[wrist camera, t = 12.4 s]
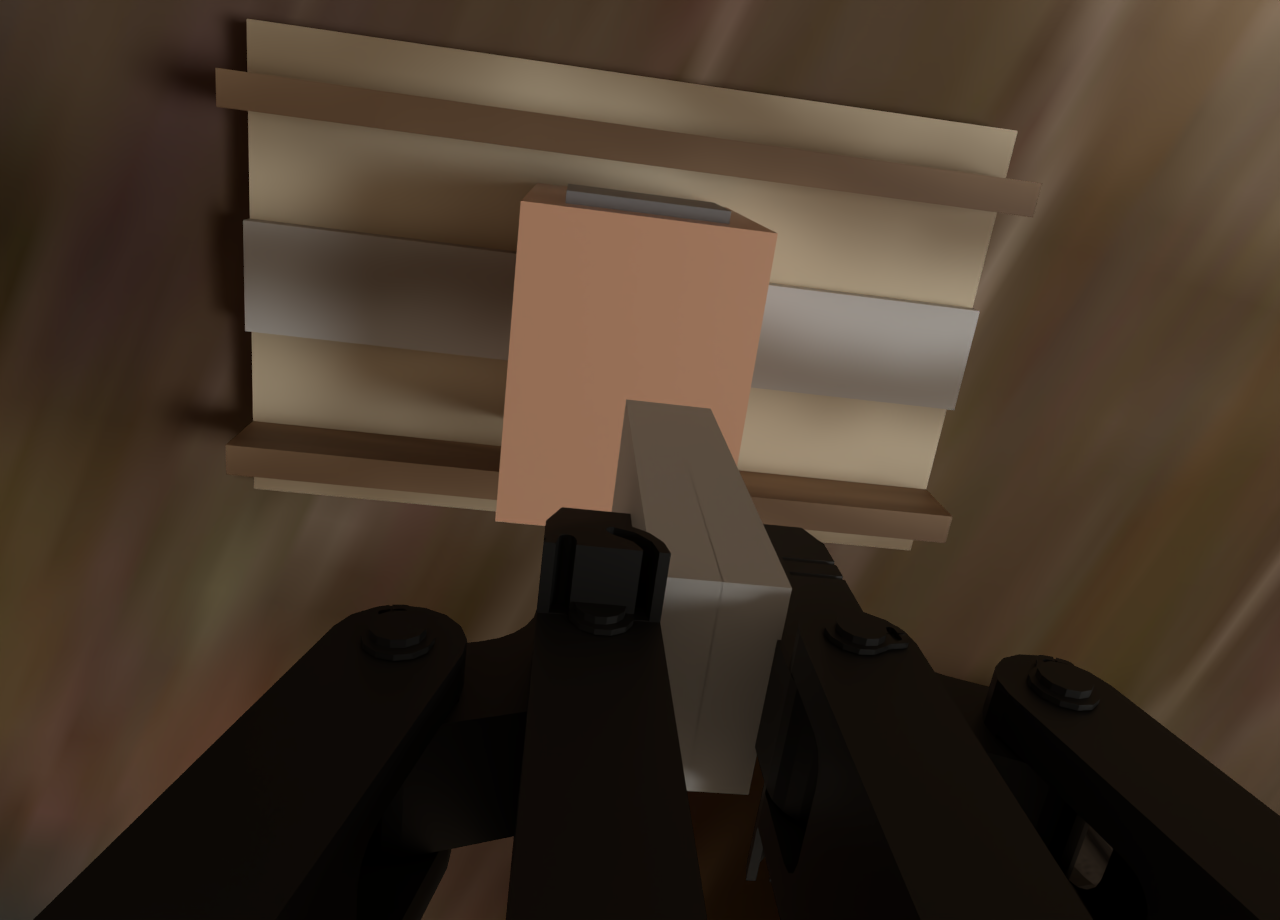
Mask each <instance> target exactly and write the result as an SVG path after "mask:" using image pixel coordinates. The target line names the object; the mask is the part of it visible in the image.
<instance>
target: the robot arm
mask: <svg viewBox="0 0 1280 920" xmlns="http://www.w3.org/2000/svg"><path fill="white" fill-rule="evenodd" d="M842 578H843V576H842V574H841V573H840V571H839V569H838V567H837V566H836V565H834V561H833V559H832V557H831V555H830V554H829V552H828V550H827V548H826V547H825V545H824V544H823V543H822V542H820V541H819V540H818V539H816V538H815V537H814V536H812V535H811V534H809V533H808V532H807V531H805V530H804V529H803V528H800V527H789V526H779V525H769V524H763V523H762V521H761V519H760V516H759V514H758V512H757V510H756V508H755V505H754V503H753V501H752V499H751V496H750V494H749V492H748V490H747V488H746V485H745V483H744V481H743V479H742V477H741V474H740V472H739V470H738V468H737V466H736V463H735V461H734V459H733V457H732V454H731V452H730V450H729V448H728V446H727V443H726V441H725V439H724V437H723V435H722V432H721V430H720V428H719V426H718V424H717V421H716V419H715V417H714V415H713V412H712V410H711V409H709V408H700V407H691V406H682V405H673V404H664V403H654V402H645V401H636V400H627V399H626V405H625V412H624V420H623V428H622V435H621V443H620V451H619V458H618V466H617V474H616V482H615V489H614V497H613V505H612V512H607V511H597V510H586V509H576V508H566V507H562V508H560V509H559V510H558V511H557V512H556V513H554V514H553V515H552V516H551V517H550V518H548V519H547V520H546V525H545V535H544V545H543V554H542V564H541V574H540V584H539V593H538V603H537V610H536V613H535V616H534V618H533V619H532V620H531V621H530V622H529V623H528V624H527V625H526V626H525V627H523V628H521V629H520V630H518V631H516V632H515V633H512V634H509V635H506V636H504V637H501V638H497V639H491V640H486V641H480V642H471V643H467V639H466V637H465V634H464V632H463V630H462V627H461V626H460V625H459V624H457V623H456V622H455V621H453V620H452V619H451V618H449V617H448V616H447V615H444V614H441V613H439V612H436V611H433V610H430V609H427V608H421V607H412V606H408V605H392V606H389V605H386V606H379V607H375V608H371V609H368V610H365V611H361V612H358V613H355V614H352V615H350V616H348V617H347V618H345V619H344V620H342V621H341V622H339V623H338V624H336V625H334V626H333V627H332V628H331V629H330V630H329V631H328V632H327V633H326V634H325V635H324V636H323V637H322V638H321V639H320V640H319V641H318V642H317V643H316V644H315V645H314V646H313V647H312V648H311V649H310V650H309V651H308V652H307V653H306V654H305V655H304V656H303V657H302V658H301V659H299V660H298V661H297V662H296V663H295V664H294V665H293V666H292V667H291V668H290V669H289V670H288V671H287V672H286V673H285V674H284V675H283V676H282V677H281V678H280V679H279V680H278V681H277V682H276V683H275V684H274V685H273V686H272V687H271V688H270V689H269V690H268V691H267V692H266V693H265V694H264V695H263V696H262V697H261V698H260V699H259V700H258V701H257V702H255V703H254V704H253V705H252V706H251V707H250V708H249V709H248V710H247V711H246V712H245V713H244V714H243V715H242V716H241V717H240V718H239V719H238V720H237V721H236V722H235V723H234V724H233V725H232V726H231V727H230V728H229V729H228V730H227V731H226V732H225V733H224V734H223V735H222V736H221V737H220V738H219V739H218V740H217V741H216V742H215V743H214V744H213V745H211V746H210V747H209V748H208V749H207V750H206V751H205V752H204V753H203V754H202V755H201V756H200V757H199V758H198V759H197V760H196V761H195V762H194V763H193V764H192V765H191V766H190V767H189V768H188V769H187V770H186V771H185V772H184V773H183V774H182V775H181V776H180V777H179V778H178V779H177V780H176V781H175V782H174V783H173V784H172V785H171V786H170V787H168V788H167V789H166V790H165V791H164V792H163V793H162V794H161V795H160V796H159V797H158V798H157V799H156V800H155V801H154V802H153V803H152V804H151V805H150V806H149V807H148V808H147V809H146V810H145V811H144V812H143V813H142V814H141V815H140V816H139V817H138V818H137V819H136V820H135V821H134V822H133V823H132V824H131V825H130V826H129V827H128V828H127V829H126V830H124V831H123V832H122V833H121V834H120V835H119V836H118V837H117V838H116V839H115V840H114V841H113V842H112V843H111V844H110V845H109V846H108V847H107V848H106V849H105V850H104V851H103V852H102V853H101V854H100V855H99V856H98V857H97V858H96V859H95V860H94V861H93V862H92V863H91V864H90V865H89V866H88V867H87V868H86V869H85V870H84V871H83V872H82V873H80V874H79V875H78V876H77V877H76V878H75V879H74V880H73V881H72V882H71V883H70V884H69V885H68V886H67V887H66V888H65V889H64V890H63V891H62V892H61V893H60V894H59V895H58V896H57V897H56V898H55V899H54V900H53V901H52V902H51V903H50V904H49V905H48V906H47V907H46V908H45V909H44V910H43V911H42V912H41V913H40V914H39V915H38V916H36V917H35V918H34V919H33V920H421V918H422V916H423V914H424V912H425V910H426V908H427V906H428V904H429V902H430V900H431V898H432V896H433V894H434V893H435V891H436V889H437V887H438V885H439V883H440V881H441V879H442V877H443V875H444V873H445V871H446V869H447V866H448V862H449V857H450V853H451V849H453V848H457V847H462V846H467V845H472V844H477V843H482V842H487V841H492V840H497V839H502V838H507V837H512V836H514V841H513V851H512V861H511V871H510V882H509V892H508V902H507V913H506V920H707V915H706V909H705V903H704V896H703V890H702V884H701V877H700V871H699V865H698V858H697V852H696V846H695V839H694V833H693V827H692V820H691V814H690V808H689V801H688V795H687V791H697V792H712V793H727V794H742V795H749V790H750V785H751V781H752V776H753V771H754V766H755V762H756V757H757V756H758V760H759V764H760V767H761V771H762V775H763V778H764V786H763V791H762V796H761V800H760V805H759V809H758V814H757V819H756V823H755V828H754V833H753V837H752V842H751V846H750V851H749V856H748V860H747V866H746V880H749V881H756V877H757V873H758V868H759V864H760V862H761V861H762V859H763V858H764V857H765V858H766V862H767V867H768V871H769V875H770V878H769V880H770V882H771V883H772V887H773V891H774V895H775V899H776V903H777V907H778V912H779V916H780V920H1280V816H1279V815H1278V814H1277V813H1275V812H1274V811H1273V810H1271V809H1270V808H1269V807H1267V806H1266V805H1265V804H1264V803H1262V802H1261V801H1260V800H1258V799H1257V798H1256V797H1255V796H1253V795H1252V794H1251V793H1249V792H1248V791H1247V790H1245V789H1244V788H1243V787H1242V786H1240V785H1239V784H1238V783H1236V782H1235V781H1234V780H1233V779H1231V778H1230V777H1229V776H1227V775H1226V774H1225V773H1223V772H1222V771H1221V770H1220V769H1218V768H1217V767H1216V766H1214V765H1213V764H1212V763H1210V762H1209V761H1208V760H1207V759H1205V758H1204V757H1203V756H1201V755H1200V754H1199V753H1198V752H1196V751H1195V750H1194V749H1192V748H1191V747H1190V746H1188V745H1187V744H1186V743H1185V742H1183V741H1182V740H1181V739H1179V738H1178V737H1177V736H1176V735H1174V734H1173V733H1172V732H1170V731H1169V730H1168V729H1166V728H1165V727H1164V726H1163V725H1161V724H1160V723H1159V722H1157V721H1156V720H1155V719H1153V718H1152V717H1151V716H1150V715H1148V714H1147V713H1146V712H1144V711H1143V710H1142V709H1141V708H1139V707H1138V706H1137V705H1135V704H1134V703H1133V702H1131V701H1130V700H1129V699H1128V698H1126V697H1125V696H1124V695H1122V694H1121V693H1120V692H1119V691H1117V690H1116V689H1115V688H1113V687H1112V686H1111V685H1109V684H1108V683H1106V682H1104V681H1103V680H1101V679H1100V678H1098V677H1096V676H1095V675H1093V674H1092V673H1090V672H1088V671H1085V670H1083V669H1081V668H1078V667H1076V666H1074V665H1073V664H1072V663H1071V662H1068V661H1066V660H1062V659H1059V658H1056V660H1055V659H1054V658H1053V657H1050V656H1045V655H1038V656H1036V655H1015V656H1011V657H1006V658H1003V659H1002V660H1001V661H1000V662H999V663H998V665H997V666H996V667H995V670H994V673H993V677H992V680H991V683H990V686H989V687H987V686H983V685H979V684H975V683H971V682H968V681H964V680H960V679H956V678H952V677H948V676H945V675H942V674H939V673H936V672H934V670H933V669H932V667H931V666H930V664H929V663H928V661H927V659H926V658H925V656H924V655H923V653H922V652H921V650H920V649H919V647H918V645H917V644H916V643H915V642H914V641H913V640H912V639H911V638H910V637H909V636H908V635H907V633H906V632H905V631H903V630H901V629H900V628H899V627H897V626H895V625H893V624H891V623H890V622H888V621H886V620H884V619H881V618H878V617H875V616H873V615H870V614H867V613H864V612H863V611H862V609H861V607H860V606H859V604H858V602H857V600H856V599H855V597H854V595H853V593H852V592H851V590H850V588H849V587H848V585H847V583H846V581H845V580H842ZM1089 825H1090V826H1091V827H1092V828H1093V829H1094V830H1095V831H1096V832H1097V833H1098V834H1099V835H1100V836H1101V837H1102V838H1103V839H1104V840H1105V841H1106V842H1107V843H1108V844H1109V845H1110V846H1111V847H1112V848H1113V851H1112V853H1111V856H1110V859H1109V861H1108V864H1107V866H1106V869H1105V871H1104V874H1103V876H1102V879H1101V880H1100V882H1099V883H1098V885H1095V884H1093V883H1091V882H1090V881H1089V880H1088V879H1086V878H1085V877H1084V876H1083V875H1082V874H1081V873H1080V872H1079V871H1078V870H1077V869H1076V868H1075V867H1074V865H1075V863H1076V860H1077V857H1078V855H1079V852H1080V849H1081V847H1082V844H1083V841H1084V839H1085V836H1086V833H1087V831H1088V828H1089Z"/></svg>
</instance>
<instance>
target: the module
mask: <svg viewBox="0 0 1280 920" xmlns="http://www.w3.org/2000/svg"><path fill="white" fill-rule="evenodd" d="M777 235H778V233H776V232H774V231H772V230H770V229H768V228H766V227H764V226H762V225H760V224H758V223H756V222H754V221H752V220H750V219H748V218H746V217H744V216H742V215H741V214H739V213H737V212H735V211H733V210H731V209H729V208H727V207H722V206H720V205H718V204H716V203H714V202H706V201H699V200H691V199H683V198H675V197H668V196H660V195H652V194H644V193H637V192H629V191H621V190H614V189H606V188H598V187H590V186H583V185H575V184H568V187H566V186H559V185H551V184H543V183H537V184H536V185H535V186H534V187H533V188H532V189H531V190H530V191H529V192H528V193H527V195H526V196H525V197H524V198H523V199H522V200H521V204H520V217H519V230H518V242H517V255H516V267H515V280H514V292H513V305H512V318H511V330H510V343H509V355H508V368H507V381H506V393H505V406H504V418H503V431H502V443H501V456H500V469H499V481H498V494H497V506H496V519H495V521H497V522H508V523H519V524H530V525H541V526H545V525H546V520H547V519H548V518H550V517H551V516H552V515H553V514H554V513H556V512H557V511H558V510H559V509H560V508H562V507H566V508H576V509H586V510H597V511H607V512H612V505H613V497H614V489H615V482H616V474H617V466H618V458H619V451H620V443H621V435H622V428H623V420H624V412H625V405H626V399H627V400H636V401H645V402H654V403H664V404H673V405H682V406H691V407H700V408H709V409H711V410H712V412H713V415H714V417H715V419H716V421H717V424H718V426H719V428H720V430H721V432H722V435H723V437H724V439H725V441H726V443H727V446H728V448H729V450H730V452H731V454H732V457H733V459H734V461H735V463H736V466H737V464H738V458H739V453H740V447H741V441H742V436H743V430H744V424H745V418H746V413H747V407H748V401H749V395H750V390H751V384H752V378H753V373H754V367H755V361H756V355H757V350H758V344H759V338H760V332H761V327H762V321H763V315H764V310H765V304H766V298H767V292H768V287H769V281H770V275H771V269H772V264H773V258H774V252H775V247H776V241H777Z"/></svg>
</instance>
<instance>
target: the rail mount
mask: <svg viewBox="0 0 1280 920" xmlns="http://www.w3.org/2000/svg"><path fill="white" fill-rule="evenodd" d="M215 72H216V107H223V108H230V109H238V110H245V111H248V140H249V201H250V219H246V220H243V246H244V300H245V331H249V332H252V387H253V421H252V422H251V423H250V424H249V425H248V426H247V427H246V428H244V429H243V430H242V431H241V432H240V433H239V434H238V435H236V436H235V437H234V438H233V439H232V440H231V441H230V442H228V443H227V444H226V474H228V475H238V476H249V477H254V489H264V490H275V491H285V492H296V493H306V494H317V495H328V496H338V497H349V498H359V499H370V500H381V501H391V502H402V503H412V504H423V505H434V506H444V507H455V508H465V509H476V510H487V511H496V506H497V494H498V481H499V469H500V456H501V443H502V431H503V418H504V406H505V393H506V381H507V368H508V355H509V343H510V330H511V318H512V305H513V292H514V280H515V267H516V255H517V242H518V230H519V217H520V204H521V200H522V199H523V198H524V197H525V196H526V195H527V193H528V192H529V191H530V190H531V189H532V188H533V187H534V186H535V185H536V184H537V183H543V184H551V185H559V186H566V187H568V184H575V185H583V186H590V187H598V188H606V189H614V190H621V191H629V192H637V193H644V194H652V195H660V196H668V197H675V198H683V199H691V200H699V201H706V202H714V203H716V204H718V205H720V206H722V207H727V208H729V209H731V210H733V211H735V212H737V213H739V214H741V215H742V216H744V217H746V218H748V219H750V220H752V221H754V222H756V223H758V224H760V225H762V226H764V227H766V228H768V229H770V230H772V231H774V232H776V233H778V235H777V241H776V247H775V252H774V258H773V264H772V269H771V275H770V281H769V287H768V292H767V298H766V304H765V310H764V315H763V321H762V327H761V332H760V338H759V344H758V350H757V355H756V361H755V367H754V373H753V378H752V384H751V390H750V395H749V401H748V407H747V413H746V418H745V424H744V430H743V436H742V441H741V447H740V453H739V458H738V464H737V468H738V470H739V472H740V474H741V477H742V479H743V481H744V483H745V485H746V488H747V490H748V492H749V494H750V496H751V499H752V501H753V503H754V505H755V508H756V510H757V512H758V514H759V516H760V519H761V521H762V523H763V524H769V525H779V526H789V527H800V528H803V529H804V530H805V531H807V532H808V533H809V534H811V535H812V536H814V537H815V538H816V539H818V540H819V541H820V542H826V543H837V544H847V545H858V546H868V547H879V548H890V549H900V550H911V547H912V543H913V540H919V541H929V542H939V543H946V539H947V535H948V532H949V528H950V524H951V520H952V516H951V515H950V514H949V513H948V512H947V510H946V509H945V508H944V507H943V506H942V505H941V504H940V503H939V502H938V501H937V500H936V499H935V498H934V497H933V496H932V495H931V494H930V493H929V492H928V491H927V490H926V488H927V484H928V480H929V476H930V472H931V468H932V464H933V460H934V457H935V453H936V449H937V445H938V441H939V437H940V433H941V429H942V425H943V421H944V417H945V413H946V410H947V409H949V410H954V409H955V405H956V401H957V397H958V393H959V390H960V386H961V382H962V378H963V374H964V370H965V366H966V363H967V359H968V355H969V351H970V347H971V343H972V339H973V335H974V332H975V328H976V324H977V320H978V316H979V312H980V311H978V310H976V309H974V308H973V304H974V300H975V296H976V292H977V288H978V284H979V280H980V277H981V273H982V269H983V265H984V261H985V257H986V253H987V249H988V245H989V241H990V237H991V233H992V230H993V226H994V222H995V218H996V214H997V213H1004V214H1012V215H1019V216H1027V217H1033V216H1034V212H1035V208H1036V205H1037V201H1038V197H1039V193H1040V190H1041V186H1042V183H1036V182H1029V181H1022V180H1014V179H1007V178H1006V175H1007V171H1008V167H1009V163H1010V159H1011V155H1012V151H1013V147H1014V143H1015V140H1016V136H1017V132H1018V131H1014V130H1007V129H1001V128H994V127H987V126H980V125H973V124H966V123H959V122H953V121H946V120H939V119H932V118H925V117H918V116H911V115H904V114H898V113H891V112H884V111H877V110H870V109H863V108H856V107H850V106H843V105H836V104H829V103H822V102H815V101H808V100H802V99H795V98H788V97H781V96H774V95H767V94H760V93H754V92H747V91H740V90H733V89H726V88H719V87H712V86H705V85H699V84H692V83H685V82H678V81H671V80H664V79H657V78H651V77H644V76H637V75H630V74H623V73H616V72H609V71H603V70H596V69H589V68H582V67H575V66H568V65H561V64H555V63H548V62H541V61H534V60H527V59H520V58H513V57H507V56H500V55H493V54H486V53H479V52H472V51H465V50H459V49H452V48H445V47H438V46H431V45H424V44H417V43H410V42H404V41H397V40H390V39H383V38H376V37H369V36H362V35H356V34H349V33H342V32H335V31H328V30H321V29H314V28H308V27H301V26H294V25H287V24H280V23H273V22H266V21H260V20H253V19H247V72H242V71H235V70H228V69H221V68H215Z"/></svg>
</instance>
